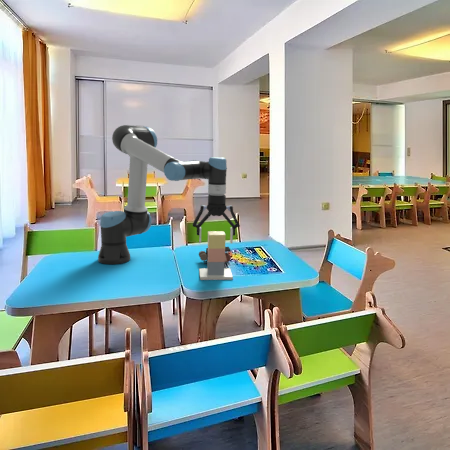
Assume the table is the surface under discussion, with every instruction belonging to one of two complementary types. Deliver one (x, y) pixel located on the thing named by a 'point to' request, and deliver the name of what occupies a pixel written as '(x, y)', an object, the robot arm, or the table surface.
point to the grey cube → (215, 268)
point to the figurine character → (204, 255)
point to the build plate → (205, 275)
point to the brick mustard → (216, 239)
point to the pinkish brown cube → (216, 255)
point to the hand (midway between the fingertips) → (215, 242)
